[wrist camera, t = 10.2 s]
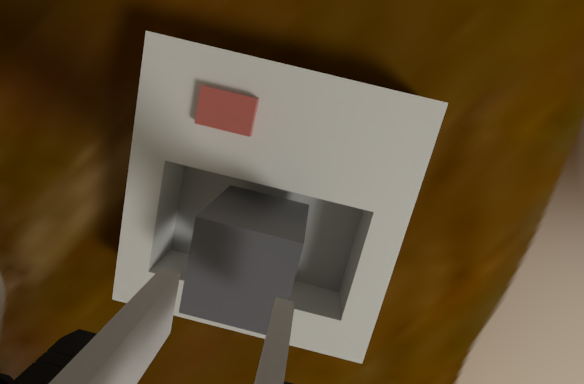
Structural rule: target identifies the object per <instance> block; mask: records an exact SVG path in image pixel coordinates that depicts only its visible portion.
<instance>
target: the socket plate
mask: <svg viewBox="0 0 584 384" xmlns="http://www.w3.org/2000/svg"><path fill="white" fill-rule="evenodd" d="M447 105H448V103H446V102H442V101H437V100H433V99H429V98H425V97H421V96H417V95H412V94H408V93H404V92H400V91H396V90H392V89H387V88H383V87H379V86H375V85H371V84H367V83H362V82H358V81H354V80H350V79H346V78H342V77H337V76H333V75H329V74H325V73H321V72H317V71H312V70H308V69H304V68H300V67H296V66H291V65H287V64H283V63H279V62H275V61H271V60H266V59H262V58H258V57H254V56H250V55H246V54H241V53H237V52H233V51H229V50H225V49H221V48H216V47H212V46H208V45H204V44H200V43H196V42H191V41H187V40H183V39H179V38H175V37H171V36H166V35H162V34H158V33H154V32H150V31H146V33H145V41H144V49H143V57H142V65H141V73H140V81H139V89H138V97H137V105H136V113H135V121H134V129H133V137H132V145H131V153H130V161H129V169H128V177H127V185H126V193H125V201H124V209H123V216H122V224H121V232H120V240H119V248H118V256H117V264H116V272H115V280H114V288H113V296H112V299H113V300H116V301H120V302H124V303H128V302H129V300H130V299H131V298H132V297H133V296H134V295H135V294H136V293H137V292H138V291H139V290H140V289H141V288H142V287H143V286H144V285H145V284H146V283H147V282H148V281H149V280H150V279H151V278H152V277H153V276H154V275H155V274H156V273H157V272H158V271H159V270H160V269H161V268H165V269H169V270H173V271H177V272H181V273H180V279H179V285H178V291H177V296H176V302H175V308H174V314H173V315H175V316H179V317H182V318H186V319H190V320H194V321H198V322H202V323H206V324H210V325H213V326H217V327H221V328H225V329H229V330H233V331H237V332H241V333H245V334H248V335H252V336H256V337H260V338H264V339H265V338H266V335H264V334H260V333H256V332H252V331H248V330H244V329H240V328H236V327H233V326H229V325H225V324H221V323H217V322H213V321H209V320H205V319H202V318H198V317H194V316H190V315H186V314H182V313H179V308H180V302H181V296H182V291H183V285H184V279H185V274H186V268H187V263H188V257H189V251H190V246H191V240H192V234H193V229H194V223H195V217H196V216H197V215H198V214H199V213H200V212H201V211H202V210H203V209H205V208H206V207H207V206H208V205H209V204H210V203H211V202H212V201H213V200H214V199H216V198H217V197H218V196H219V195H220V194H221V193H222V192H223V191H224V190H226V189H227V188H228V187H229V186H230V185H232V186H236V187H240V188H244V189H248V190H252V191H256V192H260V193H264V194H268V195H273V196H277V197H281V198H285V199H289V200H293V201H297V202H301V203H305V204H309V210H308V218H307V225H306V232H305V240H304V245H303V249H302V253H301V257H300V261H299V265H298V269H297V272H296V276H295V280H294V284H293V288H292V292H291V295H290V299H289V300H290V301H294V302H295V306H294V313H293V321H292V328H291V335H290V342H289V345H291V346H295V347H299V348H303V349H307V350H311V351H314V352H318V353H322V354H326V355H330V356H334V357H338V358H342V359H345V360H349V361H353V362H357V363H361V364H362V363H363V360H364V357H365V353H366V350H367V347H368V344H369V341H370V338H371V335H372V332H373V329H374V326H375V323H376V320H377V317H378V314H379V311H380V308H381V305H382V302H383V299H384V296H385V293H386V290H387V287H388V284H389V281H390V278H391V275H392V272H393V269H394V266H395V263H396V260H397V257H398V254H399V251H400V248H401V244H402V241H403V238H404V235H405V232H406V229H407V226H408V223H409V220H410V217H411V214H412V211H413V208H414V205H415V202H416V199H417V196H418V193H419V190H420V187H421V184H422V181H423V178H424V175H425V172H426V169H427V166H428V163H429V160H430V157H431V154H432V151H433V148H434V145H435V142H436V139H437V136H438V132H439V129H440V126H441V123H442V120H443V117H444V114H445V111H446V108H447Z"/></svg>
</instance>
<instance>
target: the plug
mask: <svg viewBox="0 0 584 384" xmlns="http://www.w3.org/2000/svg"><path fill="white" fill-rule="evenodd" d="M308 210H309V204H305V203H301V202H297V201H293V200H289V199H285V198H281V197H277V196H273V195H268V194H264V193H260V192H256V191H252V190H248V189H244V188H240V187H236V186H232V185H230V186H229V187H228V188H227V189H226V190H224V191H223V192H222V193H221V194H220V195H219V196H218V197H217V198H216V199H214V200H213V201H212V202H211V203H210V204H209V205H208V206H207V207H206V208H205V209H203V210H202V211H201V212H200V213H199V214H198V215H197V216H196V217H195V223H194V229H193V234H192V240H191V246H190V251H189V257H188V263H187V268H186V274H185V279H184V285H183V291H182V296H181V302H180V308H179V313H182V314H186V315H190V316H194V317H198V318H202V319H205V320H209V321H213V322H217V323H221V324H225V325H229V326H233V327H236V328H240V329H244V330H248V331H252V332H256V333H260V334H264V335H266V334H267V330H268V326H269V322H270V318H271V314H272V310H273V306H274V302H275V298H276V297H279V298H283V299H287V300H289V299H290V295H291V292H292V288H293V284H294V280H295V276H296V272H297V269H298V265H299V261H300V257H301V253H302V249H303V245H304V240H305V232H306V225H307V218H308Z"/></svg>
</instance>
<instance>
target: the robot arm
mask: <svg viewBox="0 0 584 384" xmlns="http://www.w3.org/2000/svg"><path fill="white" fill-rule="evenodd" d="M180 273H181V272H177V271H173V270H169V269H165V268H161V269H160V270H159V271H158V272H157V273H156V274H155V275H154V276H153V277H152V278H151V279H150V280H149V281H148V282H147V283H146V284H145V285H144V286H143V287H142V288H141V289H140V290H139V291H138V292H137V293H136V294H135V295H134V296H133V297H132V298H131V299H130V300H129V302H128V303H127V304H126V305H125V306H124V307H123V308H122V309H121V310H120V311H119V312H118V313H117V314H116V315H115V316H114V317H113V318H112V319H111V320H110V321H109V322H108V323H107V324H106V325H105V326H104V327H103V328H102V329H101V330H100V331H99V332H98V333H97V334H96V333H92V332H88V331H84V330H80V329H78V330H76V331H74V332H72V333H70V334H68V335H66V336H64V337H62V338H60V339H59V340H58V341H57V342H56V343H55V344H54V345H53V346H52V347H50V348H49V349H48V351H47V352H46V353H44V354H43V355H42V356H40V357H39V358H38V359H37V360H36V362H35V363H33V364H32V365H31V366H29V367H28V368H27V369H26V370H25V371H24V372H23V373H22V374H21V375H19V376H18V377H17V378H16V379H15V380H14V379H12V378H11V377H10V376H9V375H5V374H1V373H0V384H137V383H138V381H139V380H140V378H141V377H142V375H143V374H144V372H145V371H146V369H147V368H148V366H149V365H150V363H151V362H152V360H153V359H154V357H155V355H156V354H157V352H158V351H159V349H160V348H161V346H162V345H163V343H164V342H165V340H166V339H167V337H168V336H169V334H170V331H171V325H172V319H173V314H174V308H175V302H176V296H177V291H178V285H179V279H180ZM294 306H295V302H294V301H290V300H287V299H283V298H279V297H276V298H275V302H274V306H273V310H272V314H271V318H270V322H269V326H268V330H267V334H266V338H265V342H264V346H263V350H262V354H261V358H260V362H259V366H258V370H257V374H256V378H255V382H254V384H293V383H289V382H285V381H284V377H285V370H286V363H287V356H288V349H289V342H290V335H291V328H292V321H293V313H294Z"/></svg>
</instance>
